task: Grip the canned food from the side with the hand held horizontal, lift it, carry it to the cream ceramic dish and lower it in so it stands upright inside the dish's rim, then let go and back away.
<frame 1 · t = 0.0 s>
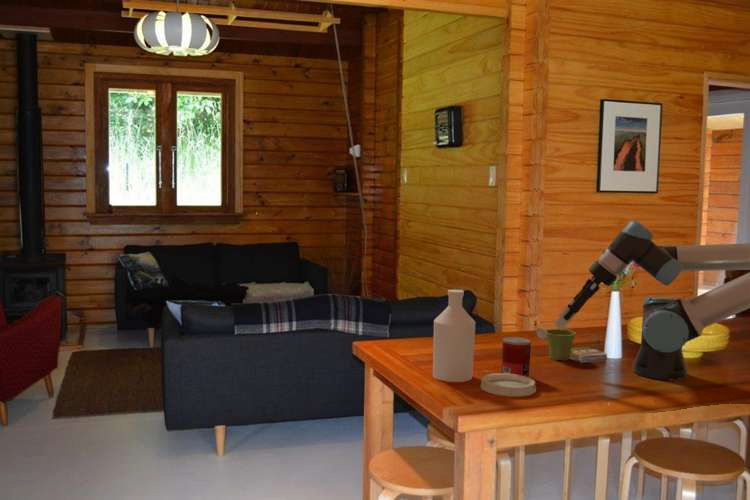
hand: (559, 323, 228), 15 cm above the table, tool tilted 35°, fingers open, 13 cm apart
bottle: (452, 377, 224), on the table
eyeglasses: (567, 340, 279), on the table
canned food: (515, 377, 225), on the table
dish: (508, 388, 213), on the table
plant pot: (559, 359, 248), on the table
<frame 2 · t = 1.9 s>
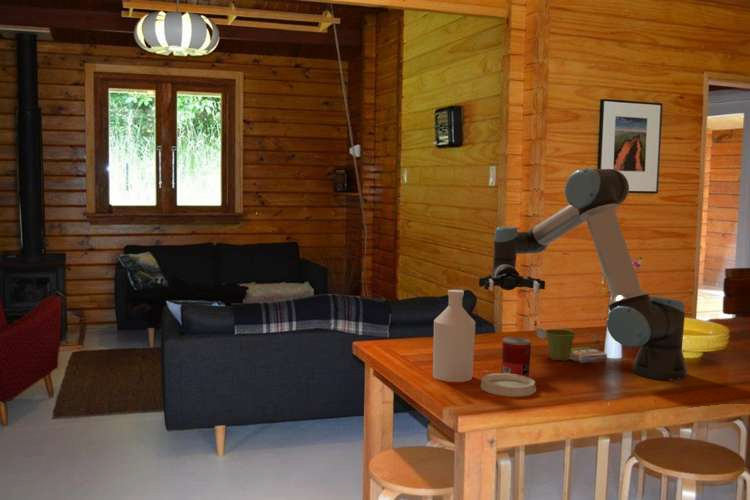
hand: (514, 287, 232), 25 cm above the table, tool horizontal, fingers open, 13 cm apart
nothing on the table moved.
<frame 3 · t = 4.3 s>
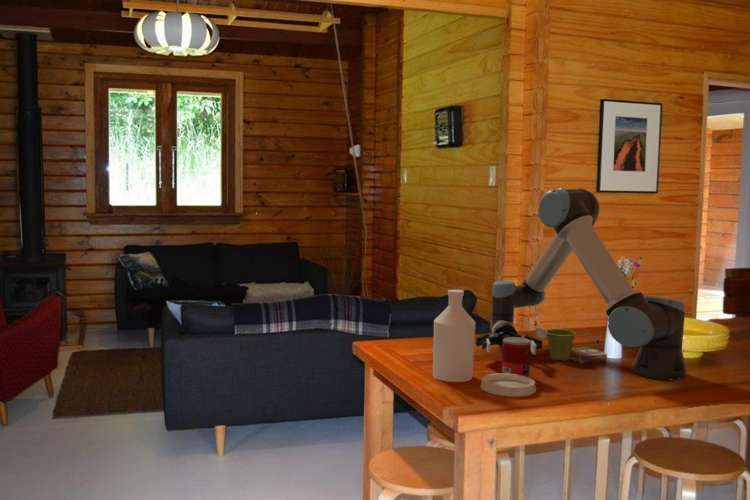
hand: (511, 349, 232), 6 cm above the table, tool horizontal, fingers open, 13 cm apart
nothing on the table moved.
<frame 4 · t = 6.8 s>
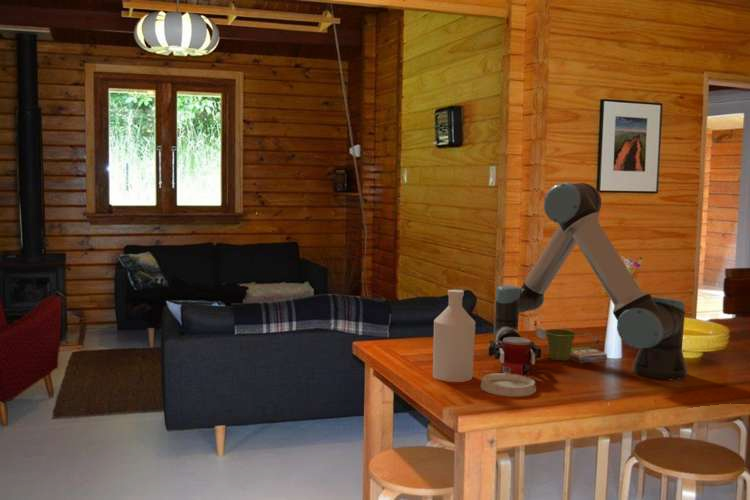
hand: (518, 358, 220), 7 cm above the table, tool horizontal, fingers closed on canned food, 8 cm apart
canned food: (515, 377, 225), on the table, touching gripper
everything else where it was.
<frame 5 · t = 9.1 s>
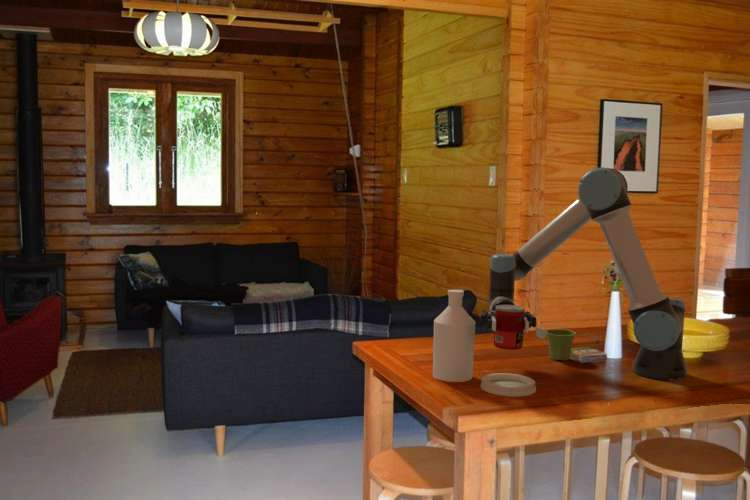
hand: (510, 326, 208), 18 cm above the table, tool horizontal, fingers closed on canned food, 8 cm apart
canned food: (508, 347, 213), point 11 cm above the table, touching gripper
everything else where it was.
when the fingers open (9 cm above the table, at t = 11.3 s): canned food drops 2 cm, resting on dish.
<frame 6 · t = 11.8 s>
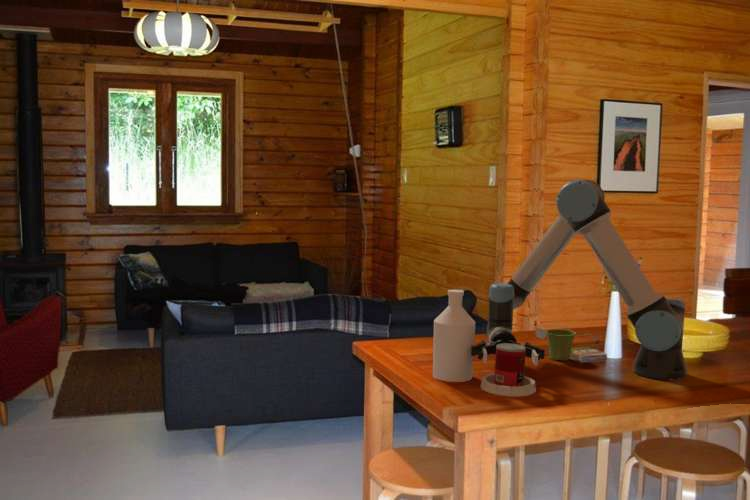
hand: (511, 359, 209), 9 cm above the table, tool horizontal, fingers open, 13 cm apart
canned food: (508, 386, 213), point 1 cm above the table, touching dish
everything else where it was.
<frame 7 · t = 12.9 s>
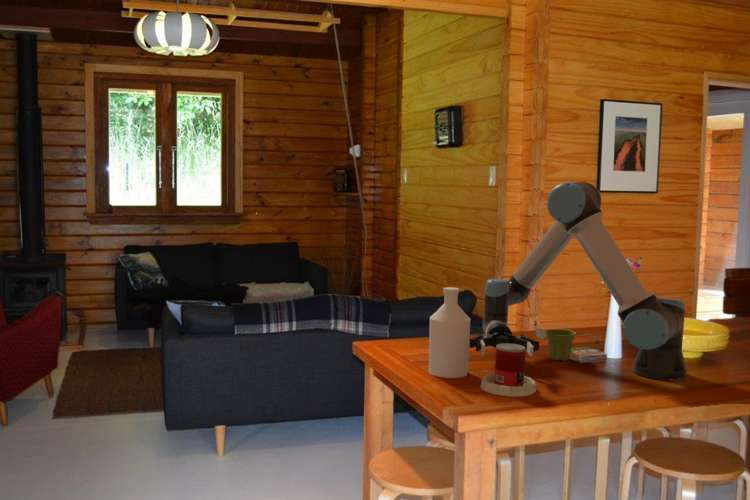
hand: (507, 351, 218), 9 cm above the table, tool horizontal, fingers open, 13 cm apart
bottle: (448, 373, 228), on the table, touching gripper, hand
everything else where it was.
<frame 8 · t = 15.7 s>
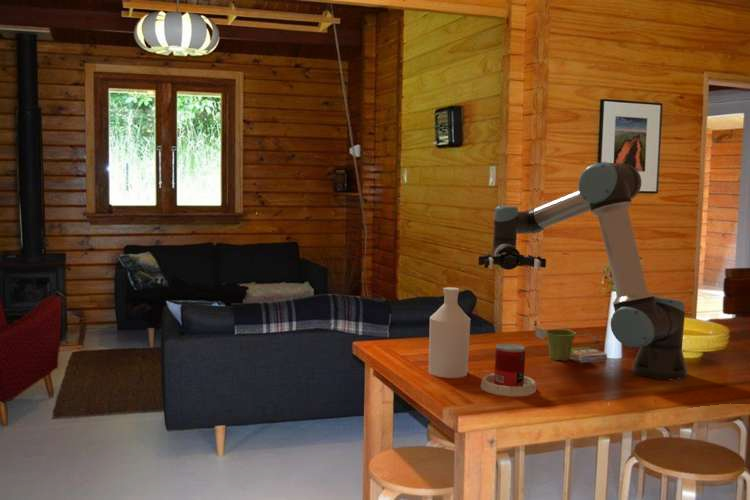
hand: (515, 265, 227), 32 cm above the table, tool horizontal, fingers open, 13 cm apart
bottle: (447, 373, 228), on the table
everything else where it was.
at the end: canned food 0.2 cm from the dish (horizontally); canned food tilted 0°; the gripper is holding nothing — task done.
